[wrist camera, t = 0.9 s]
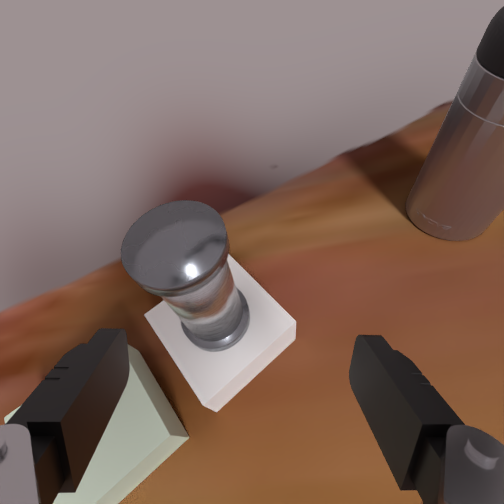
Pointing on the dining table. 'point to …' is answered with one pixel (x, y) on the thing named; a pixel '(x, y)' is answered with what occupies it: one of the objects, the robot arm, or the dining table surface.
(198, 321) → the cylinder
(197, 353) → the stand
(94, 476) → the stand
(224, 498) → the dining table surface
